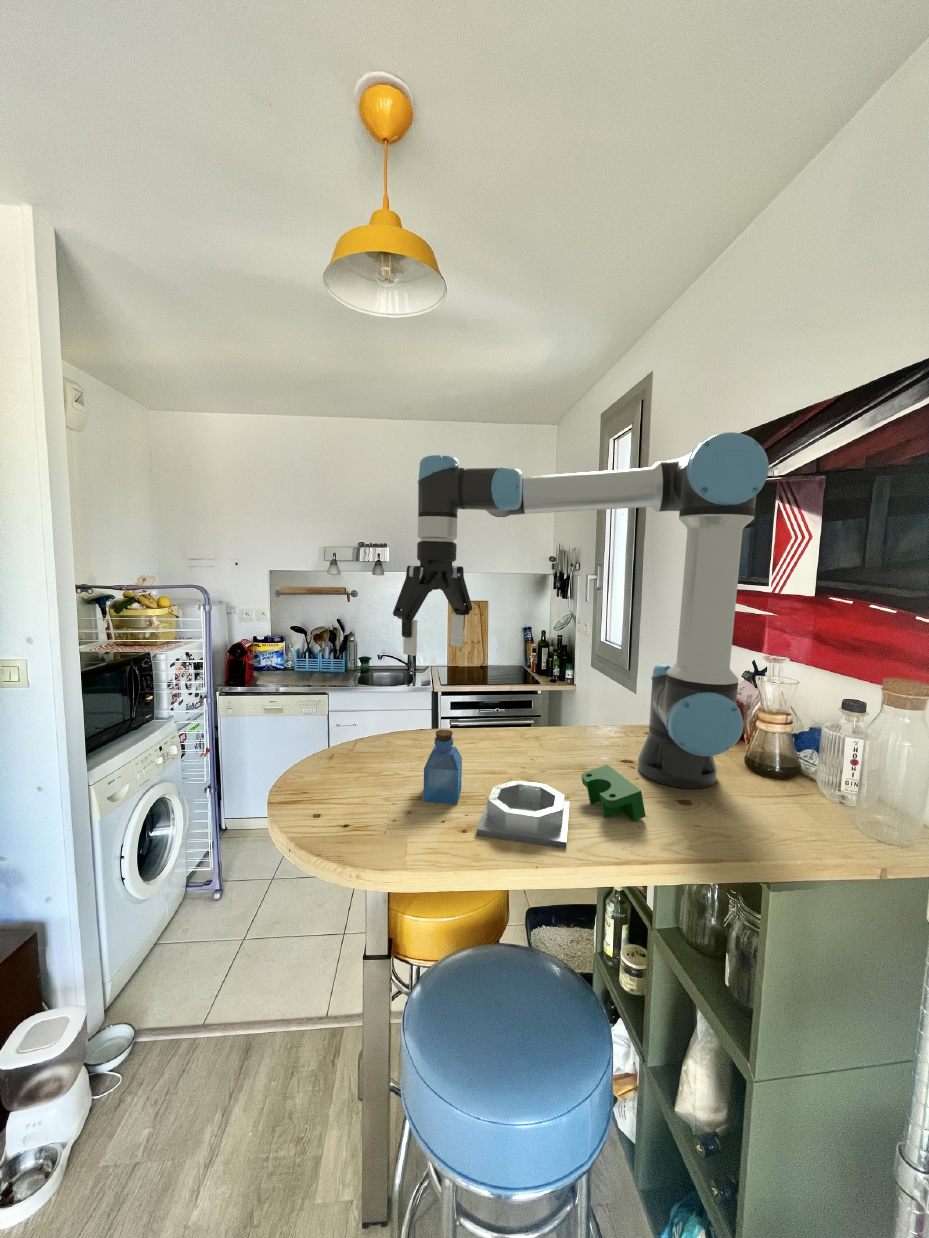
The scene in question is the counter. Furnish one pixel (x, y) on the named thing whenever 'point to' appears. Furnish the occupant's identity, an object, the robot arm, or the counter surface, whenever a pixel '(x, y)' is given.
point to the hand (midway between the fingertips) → (434, 650)
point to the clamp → (613, 793)
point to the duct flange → (526, 814)
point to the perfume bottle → (443, 771)
